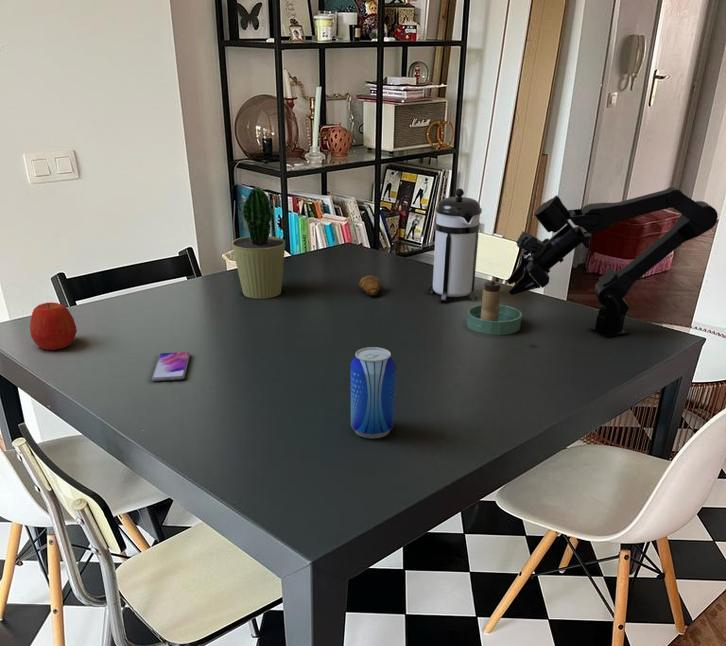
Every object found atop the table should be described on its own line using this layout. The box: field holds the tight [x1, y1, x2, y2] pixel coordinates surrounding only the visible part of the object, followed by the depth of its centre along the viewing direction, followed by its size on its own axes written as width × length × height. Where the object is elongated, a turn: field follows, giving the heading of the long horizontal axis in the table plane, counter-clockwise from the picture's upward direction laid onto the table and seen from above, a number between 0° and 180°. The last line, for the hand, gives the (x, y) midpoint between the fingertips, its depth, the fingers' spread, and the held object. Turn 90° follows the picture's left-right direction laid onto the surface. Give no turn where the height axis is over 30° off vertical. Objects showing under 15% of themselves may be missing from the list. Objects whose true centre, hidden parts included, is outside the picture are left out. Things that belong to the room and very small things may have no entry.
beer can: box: [350, 346, 396, 439], centre depth 140 cm, size 8×8×16 cm
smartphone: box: [151, 351, 191, 382], centre depth 169 cm, size 7×1×15 cm
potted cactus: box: [231, 186, 286, 300], centre depth 210 cm, size 15×15×30 cm
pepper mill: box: [480, 280, 502, 321], centre depth 191 cm, size 5×5×12 cm
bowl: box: [466, 304, 523, 336], centre depth 193 cm, size 14×14×4 cm
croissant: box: [358, 274, 382, 298], centre depth 218 cm, size 14×7×5 cm, turn 10°
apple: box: [29, 301, 78, 351], centre depth 179 cm, size 11×11×11 cm
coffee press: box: [428, 188, 483, 304], centre depth 209 cm, size 17×16×30 cm
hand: (508, 288), depth 188 cm, fingers open, 9 cm apart
